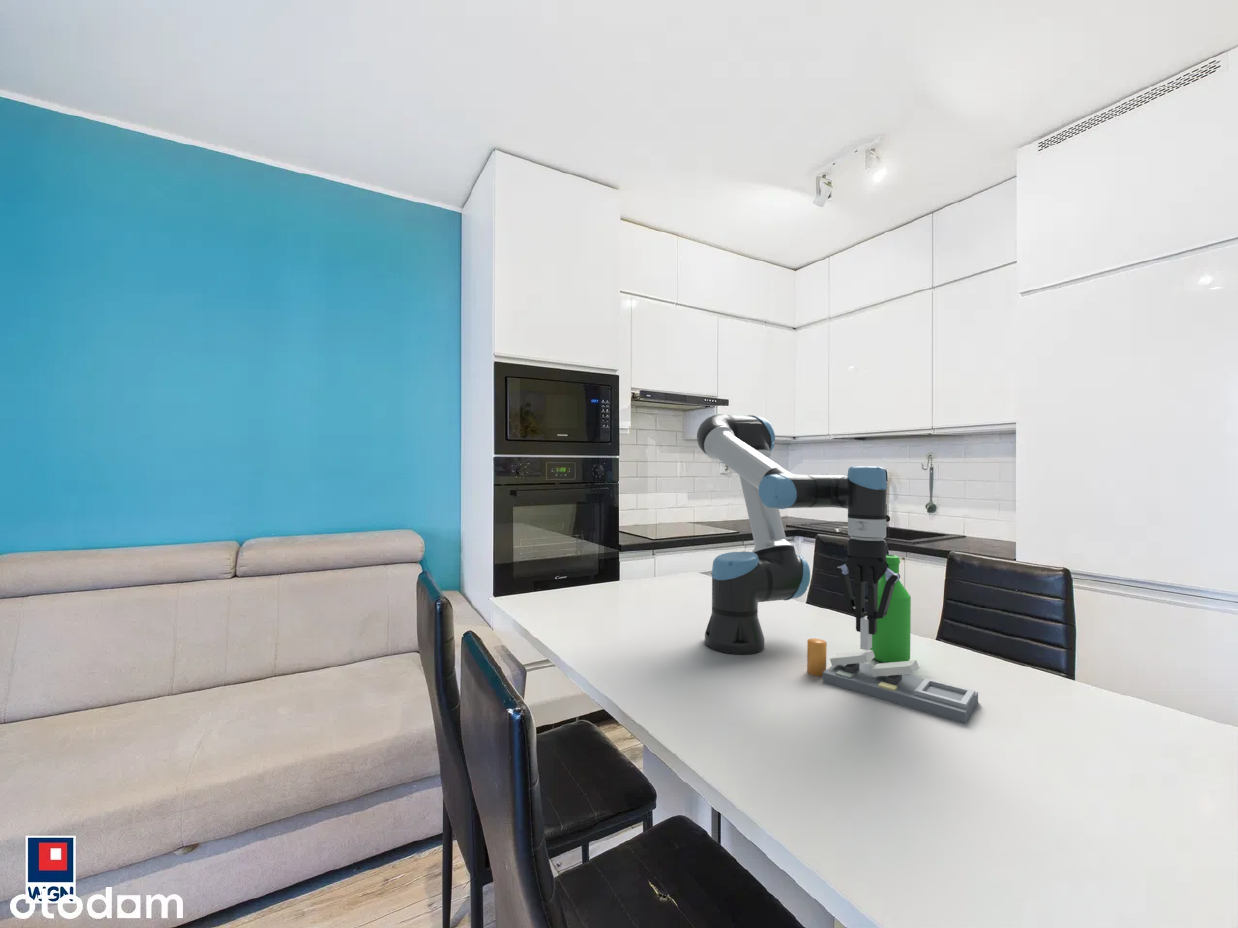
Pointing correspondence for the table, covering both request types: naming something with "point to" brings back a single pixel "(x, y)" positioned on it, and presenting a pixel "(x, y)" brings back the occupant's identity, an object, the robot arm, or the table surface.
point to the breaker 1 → (852, 657)
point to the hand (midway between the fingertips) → (866, 647)
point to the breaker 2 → (894, 668)
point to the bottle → (893, 621)
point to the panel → (906, 690)
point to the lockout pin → (816, 656)
